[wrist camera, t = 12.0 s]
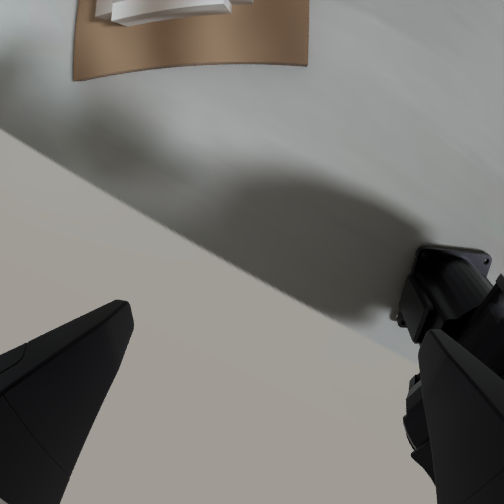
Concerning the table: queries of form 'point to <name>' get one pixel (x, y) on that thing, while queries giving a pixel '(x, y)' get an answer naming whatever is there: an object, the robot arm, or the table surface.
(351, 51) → the table surface
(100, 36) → the wooden board with frame
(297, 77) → the table surface
